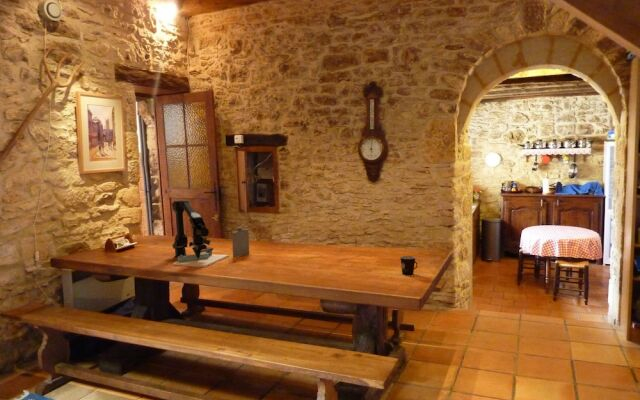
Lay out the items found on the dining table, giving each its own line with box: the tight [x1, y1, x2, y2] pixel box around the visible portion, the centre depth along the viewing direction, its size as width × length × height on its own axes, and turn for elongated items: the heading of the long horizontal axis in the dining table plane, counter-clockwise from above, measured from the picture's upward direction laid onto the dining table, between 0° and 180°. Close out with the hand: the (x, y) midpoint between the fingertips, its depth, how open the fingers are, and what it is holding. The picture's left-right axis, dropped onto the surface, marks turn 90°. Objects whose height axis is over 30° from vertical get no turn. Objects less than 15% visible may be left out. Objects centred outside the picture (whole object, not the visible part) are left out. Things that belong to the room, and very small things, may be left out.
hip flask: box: [231, 226, 250, 258], centre depth 343 cm, size 16×4×20 cm, turn 150°
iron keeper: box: [201, 246, 214, 256], centre depth 337 cm, size 12×6×5 cm, turn 144°
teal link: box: [177, 252, 209, 262], centre depth 326 cm, size 20×4×4 cm, turn 122°
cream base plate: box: [172, 253, 229, 268], centre depth 329 cm, size 24×31×1 cm
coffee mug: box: [400, 255, 418, 276], centre depth 283 cm, size 12×9×10 cm
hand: (198, 258), depth 325 cm, fingers closed
